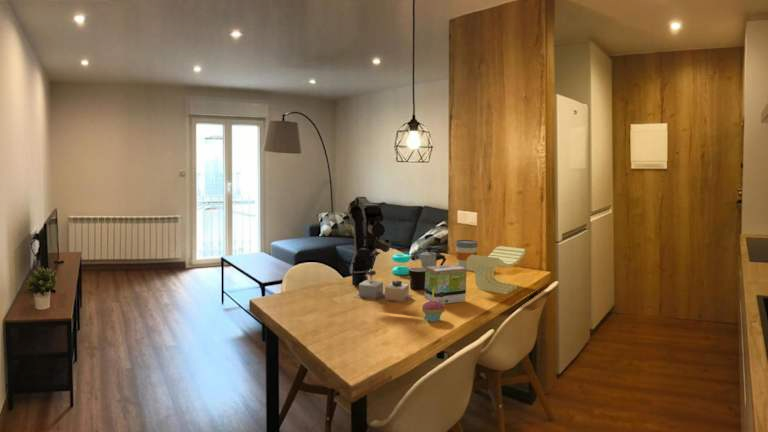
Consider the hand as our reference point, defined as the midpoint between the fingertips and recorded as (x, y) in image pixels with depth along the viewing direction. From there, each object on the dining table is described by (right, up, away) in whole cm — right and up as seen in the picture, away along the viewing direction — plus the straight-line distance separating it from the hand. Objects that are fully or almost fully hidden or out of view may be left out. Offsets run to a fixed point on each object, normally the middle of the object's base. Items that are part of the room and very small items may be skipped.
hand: (371, 269), depth 211 cm
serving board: (+5, -13, -1) cm, 14 cm away
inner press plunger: (0, -8, +1) cm, 8 cm away
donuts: (+15, -8, +48) cm, 51 cm away
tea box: (+32, -14, -3) cm, 35 cm away
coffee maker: (+29, -10, +28) cm, 41 cm away
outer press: (+11, -12, -3) cm, 17 cm away
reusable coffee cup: (+52, -6, +65) cm, 83 cm away
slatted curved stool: (+58, -11, +18) cm, 62 cm away
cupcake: (+24, -16, -29) cm, 41 cm away
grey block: (0, -12, +1) cm, 12 cm away
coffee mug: (+21, -12, +14) cm, 28 cm away
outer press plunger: (+11, -12, -3) cm, 17 cm away
